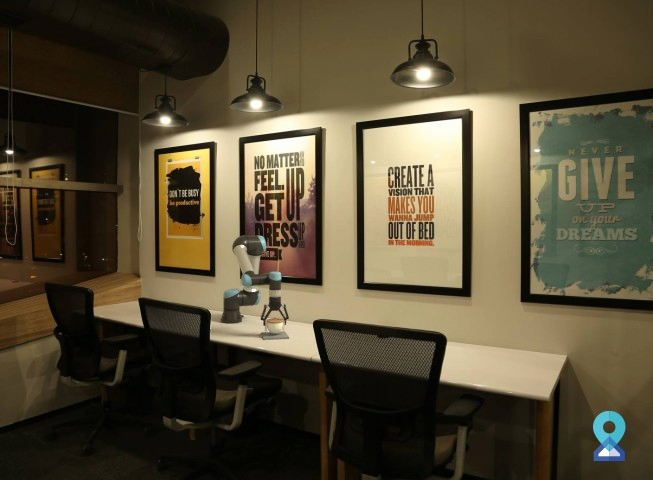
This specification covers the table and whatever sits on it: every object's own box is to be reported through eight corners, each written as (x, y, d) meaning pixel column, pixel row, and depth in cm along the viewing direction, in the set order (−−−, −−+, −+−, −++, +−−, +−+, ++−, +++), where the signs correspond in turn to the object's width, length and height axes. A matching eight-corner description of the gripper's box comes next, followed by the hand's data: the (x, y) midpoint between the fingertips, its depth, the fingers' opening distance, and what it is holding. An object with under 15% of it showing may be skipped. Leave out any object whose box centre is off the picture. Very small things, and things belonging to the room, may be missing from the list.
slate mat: (260, 333, 310) (260, 332, 310) (284, 332, 314) (284, 331, 314) (263, 339, 295) (263, 338, 295) (289, 338, 299) (289, 337, 299)
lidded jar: (285, 330, 309) (285, 316, 308) (280, 334, 298) (280, 319, 298) (269, 329, 311) (269, 315, 310) (264, 333, 300) (264, 318, 300)
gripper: (257, 297, 297) (257, 332, 298) (294, 296, 303) (293, 330, 304) (256, 295, 304) (255, 330, 305) (291, 294, 310) (291, 328, 311)
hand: (274, 330), depth 304 cm, fingers closed on lidded jar, 11 cm apart
